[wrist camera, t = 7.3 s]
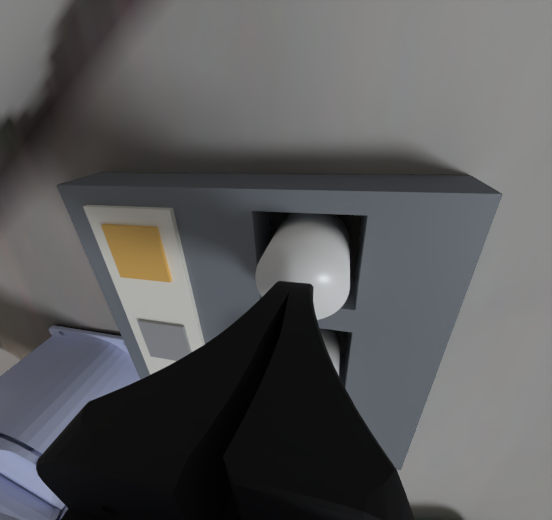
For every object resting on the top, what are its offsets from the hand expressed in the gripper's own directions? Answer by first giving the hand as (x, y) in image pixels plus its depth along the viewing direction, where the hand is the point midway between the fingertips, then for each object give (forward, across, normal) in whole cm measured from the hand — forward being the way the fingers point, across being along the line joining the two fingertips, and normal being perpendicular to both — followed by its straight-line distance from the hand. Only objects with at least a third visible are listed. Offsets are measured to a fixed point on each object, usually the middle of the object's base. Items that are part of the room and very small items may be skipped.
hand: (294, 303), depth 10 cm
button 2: (+5, 0, 0) cm, 5 cm away
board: (+6, +3, +6) cm, 9 cm away
